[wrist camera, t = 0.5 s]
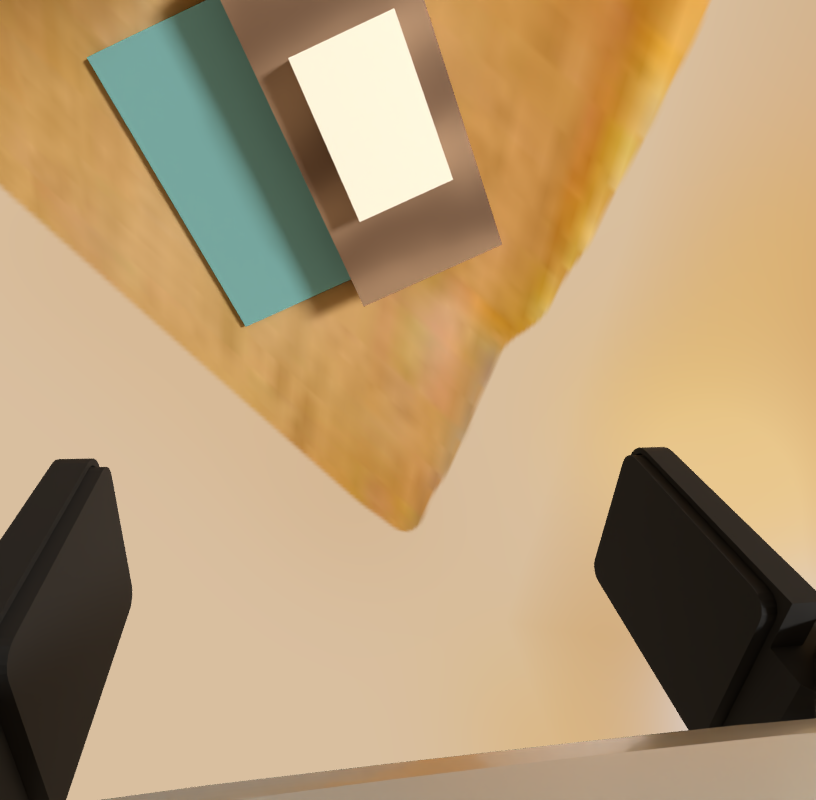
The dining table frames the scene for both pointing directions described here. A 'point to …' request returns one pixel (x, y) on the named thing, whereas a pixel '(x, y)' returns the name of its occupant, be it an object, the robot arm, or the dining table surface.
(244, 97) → the mat
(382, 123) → the cream white panel
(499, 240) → the brown wooden block
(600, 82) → the dining table surface
